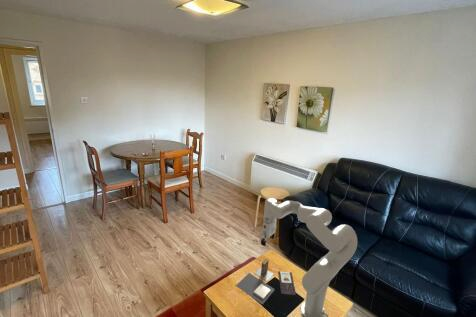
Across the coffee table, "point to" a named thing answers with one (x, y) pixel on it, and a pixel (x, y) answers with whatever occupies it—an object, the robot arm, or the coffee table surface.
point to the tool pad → (266, 276)
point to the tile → (262, 291)
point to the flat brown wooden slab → (264, 267)
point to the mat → (253, 287)
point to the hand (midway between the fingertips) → (267, 241)
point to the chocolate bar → (286, 283)
